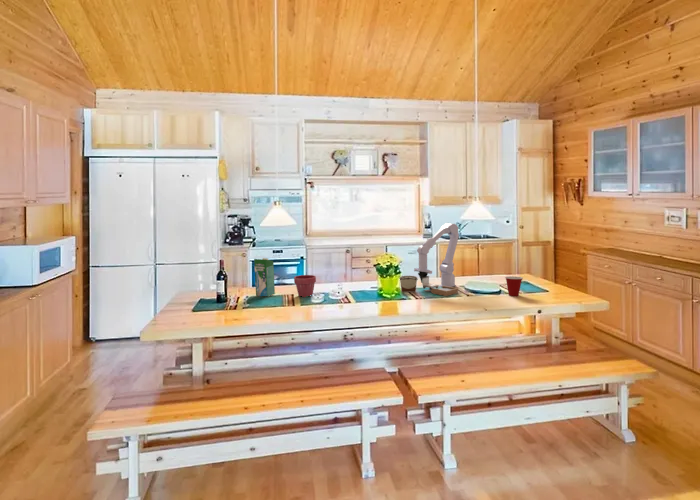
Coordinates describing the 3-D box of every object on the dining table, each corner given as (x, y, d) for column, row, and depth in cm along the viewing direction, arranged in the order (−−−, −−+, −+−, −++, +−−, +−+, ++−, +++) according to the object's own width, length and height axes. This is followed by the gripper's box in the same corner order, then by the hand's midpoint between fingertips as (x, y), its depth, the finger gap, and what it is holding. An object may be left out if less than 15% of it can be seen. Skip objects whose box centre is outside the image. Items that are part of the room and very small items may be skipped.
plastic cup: (522, 293, 308) (523, 275, 306) (522, 297, 298) (523, 278, 296) (504, 293, 312) (505, 274, 310) (504, 296, 301) (504, 278, 300)
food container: (417, 290, 326) (417, 275, 325) (417, 292, 320) (417, 277, 319) (399, 290, 327) (399, 275, 326) (399, 292, 321) (399, 277, 320)
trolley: (428, 286, 330) (428, 275, 329) (438, 288, 323) (438, 277, 322) (421, 288, 326) (421, 277, 325) (431, 290, 319) (431, 279, 318)
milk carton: (274, 294, 324) (273, 257, 320) (267, 297, 316) (265, 259, 312) (263, 293, 327) (262, 256, 324) (255, 295, 319) (254, 258, 316)
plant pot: (304, 292, 327) (303, 273, 325) (320, 294, 319) (320, 275, 317) (290, 296, 315) (289, 277, 314) (306, 299, 307) (306, 279, 305)
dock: (433, 289, 330) (433, 283, 330) (457, 293, 315) (457, 288, 314) (421, 291, 323) (421, 286, 322) (446, 296, 307) (446, 291, 307)
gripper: (411, 262, 330) (411, 282, 332) (427, 265, 319) (427, 285, 321) (418, 261, 335) (418, 280, 336) (434, 263, 324) (434, 283, 325)
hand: (423, 282), depth 329 cm, fingers closed
